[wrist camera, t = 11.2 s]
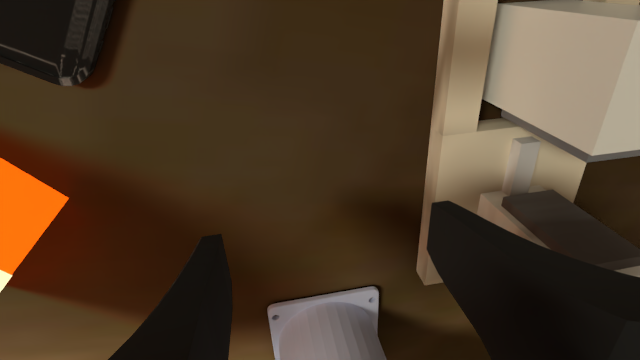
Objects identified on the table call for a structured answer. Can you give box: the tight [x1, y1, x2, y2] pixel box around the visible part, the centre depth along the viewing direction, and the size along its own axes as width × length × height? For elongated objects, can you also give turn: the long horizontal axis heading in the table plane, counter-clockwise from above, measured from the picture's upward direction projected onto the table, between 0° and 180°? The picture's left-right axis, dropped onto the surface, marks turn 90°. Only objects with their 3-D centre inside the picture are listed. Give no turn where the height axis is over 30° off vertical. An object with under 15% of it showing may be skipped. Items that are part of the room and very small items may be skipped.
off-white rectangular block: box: [482, 0, 640, 163], centre depth 18 cm, size 6×4×8 cm
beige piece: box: [416, 0, 640, 285], centre depth 19 cm, size 20×10×10 cm, turn 3°
